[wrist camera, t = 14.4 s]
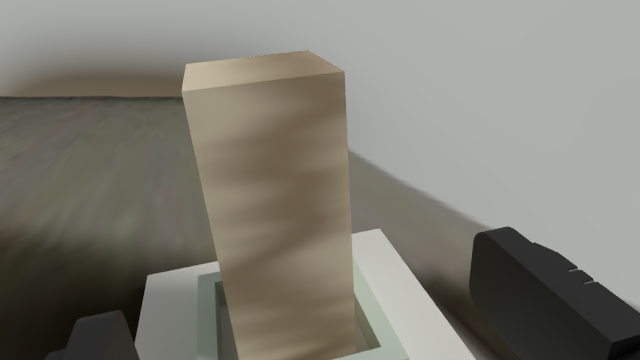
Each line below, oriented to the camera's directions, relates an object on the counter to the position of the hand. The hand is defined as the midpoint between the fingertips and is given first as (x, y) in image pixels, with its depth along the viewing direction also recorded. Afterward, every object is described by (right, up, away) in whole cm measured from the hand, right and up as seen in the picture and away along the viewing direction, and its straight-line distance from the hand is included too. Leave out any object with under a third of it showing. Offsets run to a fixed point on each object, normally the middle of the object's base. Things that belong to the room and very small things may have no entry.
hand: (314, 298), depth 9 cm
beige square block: (-1, -4, +10) cm, 11 cm away
